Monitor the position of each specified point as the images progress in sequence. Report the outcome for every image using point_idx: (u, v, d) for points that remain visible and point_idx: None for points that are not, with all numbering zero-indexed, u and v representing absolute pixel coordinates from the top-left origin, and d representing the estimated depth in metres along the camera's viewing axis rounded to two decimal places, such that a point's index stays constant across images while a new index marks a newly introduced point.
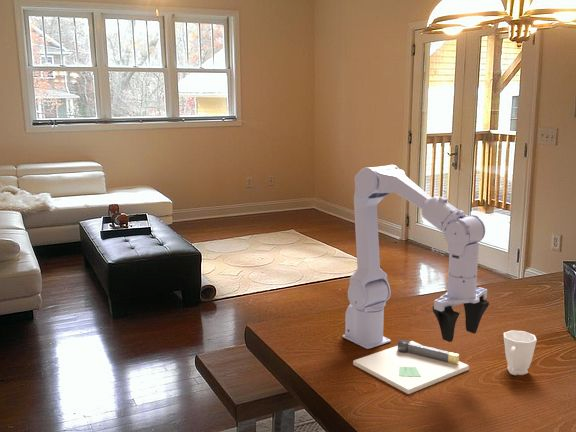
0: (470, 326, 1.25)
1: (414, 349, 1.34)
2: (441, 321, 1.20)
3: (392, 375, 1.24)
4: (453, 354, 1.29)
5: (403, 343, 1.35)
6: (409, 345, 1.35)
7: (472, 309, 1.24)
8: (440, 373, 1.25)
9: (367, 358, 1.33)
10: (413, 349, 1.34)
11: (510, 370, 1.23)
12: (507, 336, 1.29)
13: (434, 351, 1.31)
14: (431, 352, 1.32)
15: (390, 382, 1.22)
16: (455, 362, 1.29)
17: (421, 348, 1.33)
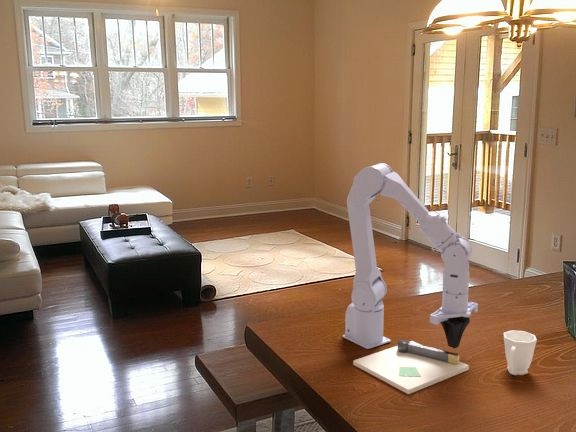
0: None
1: (414, 349, 1.34)
2: (446, 330, 1.35)
3: (392, 375, 1.24)
4: (453, 354, 1.29)
5: (403, 343, 1.35)
6: (409, 345, 1.35)
7: None
8: (440, 373, 1.25)
9: (367, 358, 1.33)
10: (413, 349, 1.34)
11: (510, 370, 1.23)
12: (507, 336, 1.29)
13: (434, 351, 1.31)
14: (431, 352, 1.32)
15: (390, 382, 1.22)
16: (455, 362, 1.29)
17: (421, 348, 1.33)
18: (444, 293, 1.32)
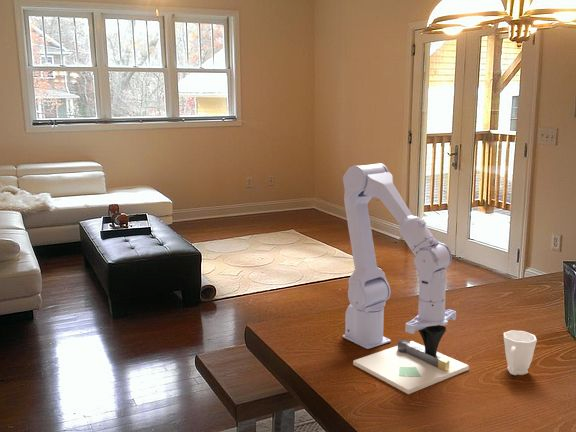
0: (429, 350, 1.30)
1: (411, 350, 1.34)
2: (425, 338, 1.31)
3: (392, 375, 1.24)
4: (442, 360, 1.26)
5: (402, 343, 1.35)
6: (407, 346, 1.34)
7: None
8: (440, 373, 1.25)
9: (367, 358, 1.33)
10: (410, 350, 1.34)
11: (510, 370, 1.23)
12: (507, 336, 1.29)
13: (427, 354, 1.30)
14: (424, 355, 1.30)
15: (390, 382, 1.22)
16: (444, 368, 1.26)
17: (416, 350, 1.32)
18: (420, 301, 1.28)
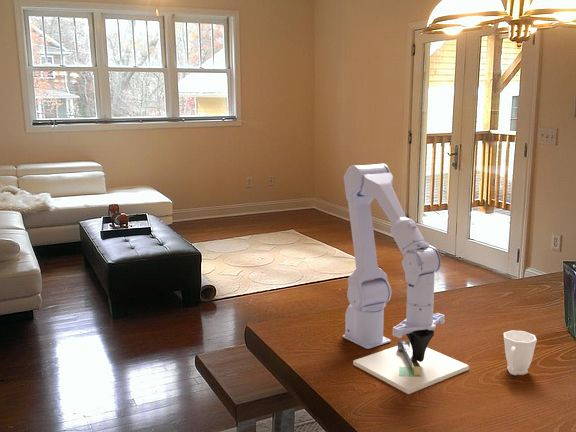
0: (417, 354, 1.29)
1: (403, 351, 1.33)
2: (413, 342, 1.29)
3: (392, 375, 1.24)
4: (414, 364, 1.24)
5: (400, 342, 1.36)
6: (402, 346, 1.34)
7: None
8: (440, 373, 1.25)
9: (367, 358, 1.33)
10: (403, 350, 1.34)
11: (510, 370, 1.23)
12: (507, 336, 1.29)
13: (409, 357, 1.29)
14: (408, 356, 1.29)
15: (390, 382, 1.22)
16: (413, 372, 1.24)
17: (405, 351, 1.32)
18: (408, 304, 1.26)
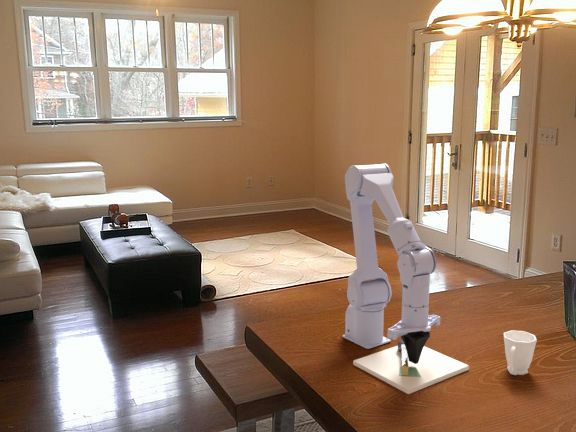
0: None
1: None
2: (407, 344, 1.28)
3: (392, 375, 1.24)
4: (403, 364, 1.25)
5: (400, 342, 1.36)
6: (401, 345, 1.35)
7: None
8: (440, 373, 1.25)
9: (367, 358, 1.33)
10: None
11: (510, 370, 1.23)
12: (507, 336, 1.29)
13: (401, 356, 1.29)
14: (401, 356, 1.30)
15: (390, 382, 1.22)
16: None
17: (401, 351, 1.32)
18: (403, 306, 1.25)
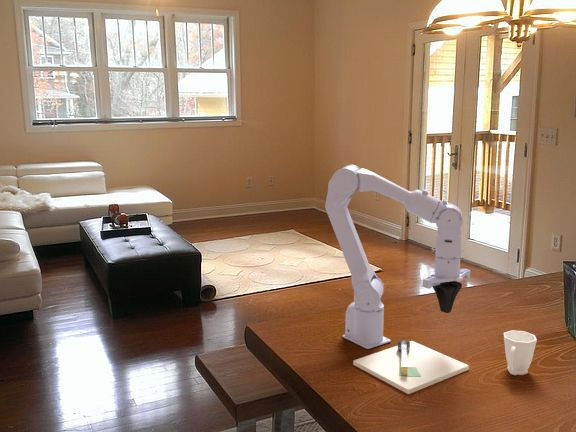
0: None
1: None
2: (439, 295, 1.38)
3: (392, 375, 1.24)
4: (402, 364, 1.25)
5: (400, 342, 1.36)
6: (401, 345, 1.35)
7: None
8: (440, 373, 1.25)
9: (367, 358, 1.33)
10: None
11: (510, 370, 1.23)
12: (507, 336, 1.29)
13: (401, 356, 1.29)
14: (401, 356, 1.30)
15: (390, 382, 1.22)
16: (401, 372, 1.24)
17: (401, 351, 1.32)
18: (436, 258, 1.35)
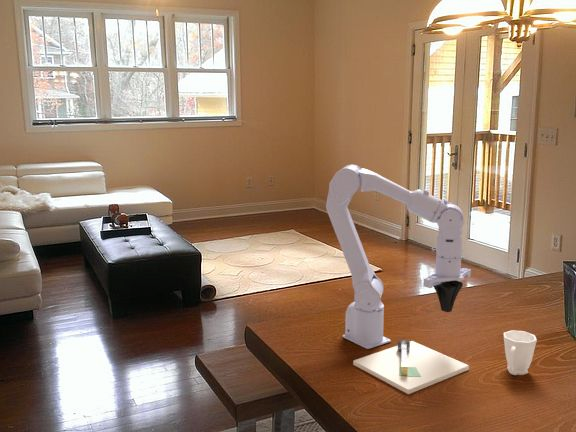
0: None
1: None
2: (440, 294, 1.38)
3: (392, 375, 1.24)
4: (402, 364, 1.25)
5: (400, 342, 1.36)
6: (401, 345, 1.35)
7: None
8: (440, 373, 1.25)
9: (367, 358, 1.33)
10: None
11: (510, 370, 1.23)
12: (507, 336, 1.29)
13: (401, 356, 1.29)
14: (401, 356, 1.30)
15: (390, 382, 1.22)
16: (401, 372, 1.24)
17: (401, 351, 1.32)
18: (437, 258, 1.35)
